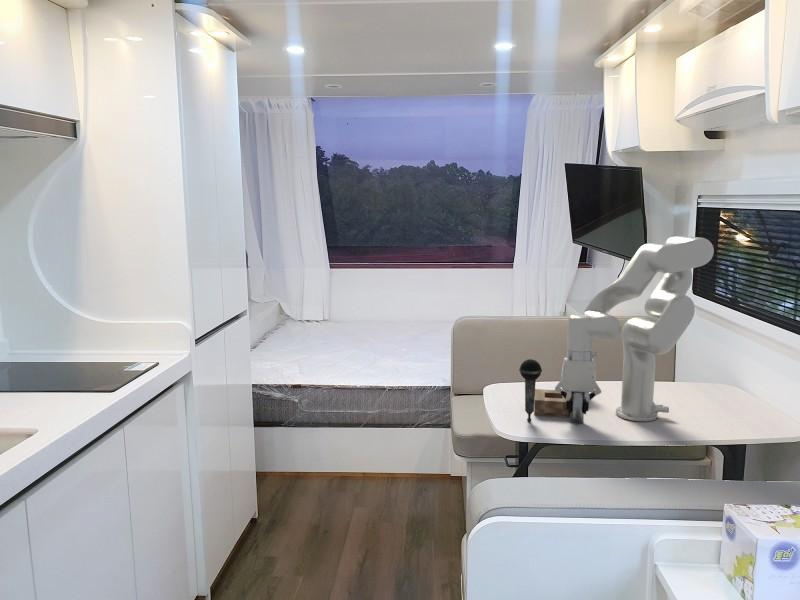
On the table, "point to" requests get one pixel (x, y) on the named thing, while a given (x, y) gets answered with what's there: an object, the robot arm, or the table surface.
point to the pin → (577, 407)
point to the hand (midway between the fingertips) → (577, 411)
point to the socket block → (550, 403)
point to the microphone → (530, 383)
